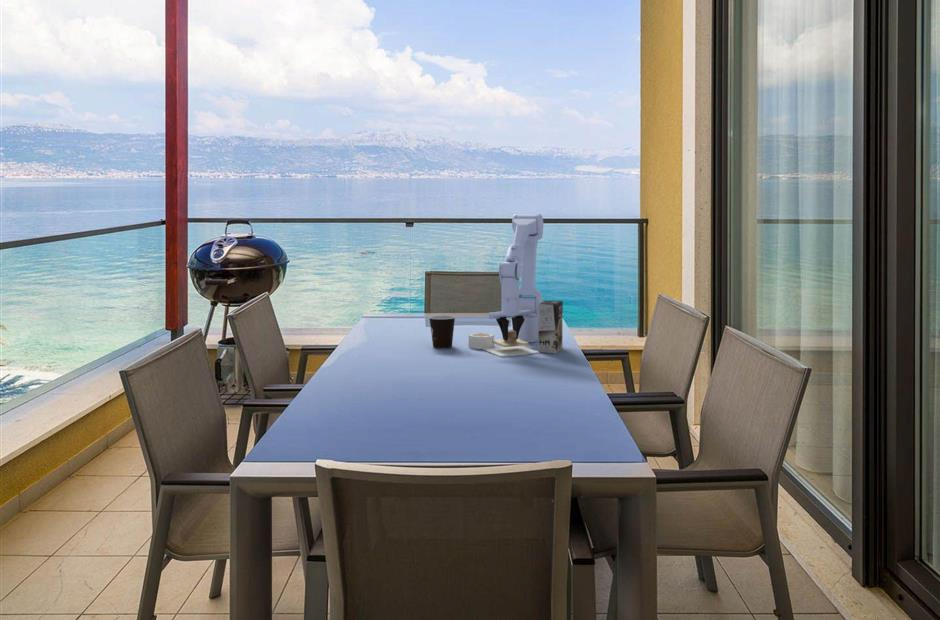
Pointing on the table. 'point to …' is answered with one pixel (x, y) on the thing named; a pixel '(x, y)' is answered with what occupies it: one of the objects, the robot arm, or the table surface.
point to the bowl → (481, 340)
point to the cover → (510, 340)
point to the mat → (510, 351)
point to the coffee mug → (442, 331)
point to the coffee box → (550, 326)
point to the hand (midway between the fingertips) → (510, 339)
